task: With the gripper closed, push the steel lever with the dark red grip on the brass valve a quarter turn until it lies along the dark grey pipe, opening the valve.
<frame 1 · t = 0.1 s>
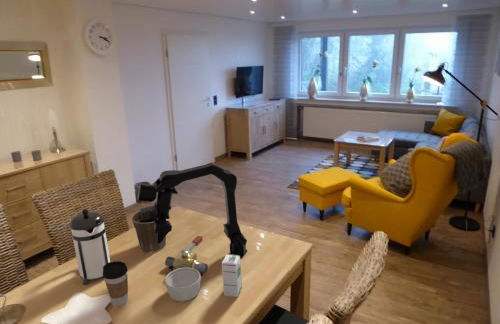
hand: (157, 237, 144), 15 cm above the table, tool pointing down, fingers open, 9 cm apart
coffee press: (94, 274, 148), on the table
plant pot: (152, 246, 169), on the table
syrup box: (232, 292, 134), on the table
valve lever: (192, 246, 151), point 8 cm above the table, hinge at 0.0°
coffee cup: (120, 301, 131), on the table
valve body: (186, 270, 148), on the table
ramekin: (184, 293, 134), on the table
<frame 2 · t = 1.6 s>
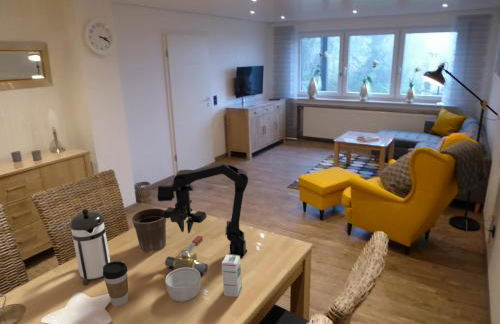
hand: (186, 232, 155), 12 cm above the table, tool pointing down, fingers open, 3 cm apart
nothing on the table moved.
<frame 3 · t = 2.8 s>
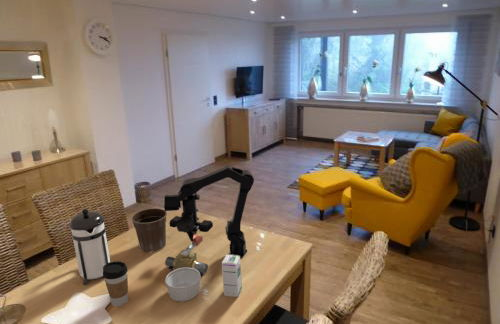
hand: (192, 241, 156), 8 cm above the table, tool pointing down, fingers closed
valve lever: (192, 246, 151), point 8 cm above the table, hinge at 0.0°, touching gripper
everything else where it was.
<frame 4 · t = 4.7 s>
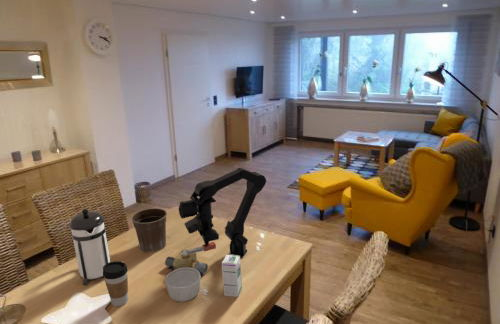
hand: (206, 245, 152), 8 cm above the table, tool pointing down, fingers closed
valve lever: (198, 249, 148), point 8 cm above the table, hinge at -43.3°, touching gripper
everything else where it was.
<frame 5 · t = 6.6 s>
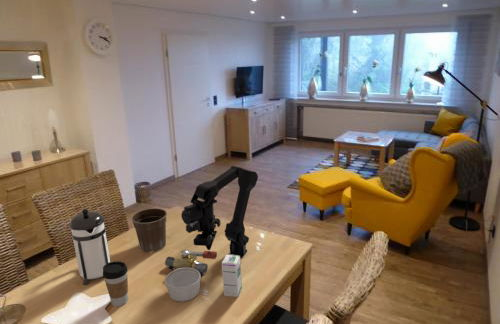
hand: (208, 249, 145), 10 cm above the table, tool pointing down, fingers closed
valve lever: (198, 254, 145), point 8 cm above the table, hinge at -79.9°
everything else where it was.
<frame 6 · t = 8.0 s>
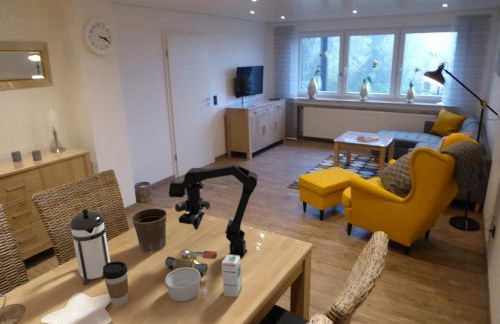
hand: (196, 229, 158), 12 cm above the table, tool pointing down, fingers closed
nothing on the table moved.
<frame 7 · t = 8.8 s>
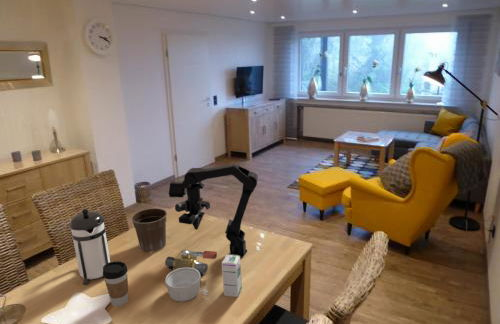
hand: (196, 229, 158), 12 cm above the table, tool pointing down, fingers closed
nothing on the table moved.
at the end: valve lever at -80° (first picture: +0°); ramekin moved 0.3 cm from its start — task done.
